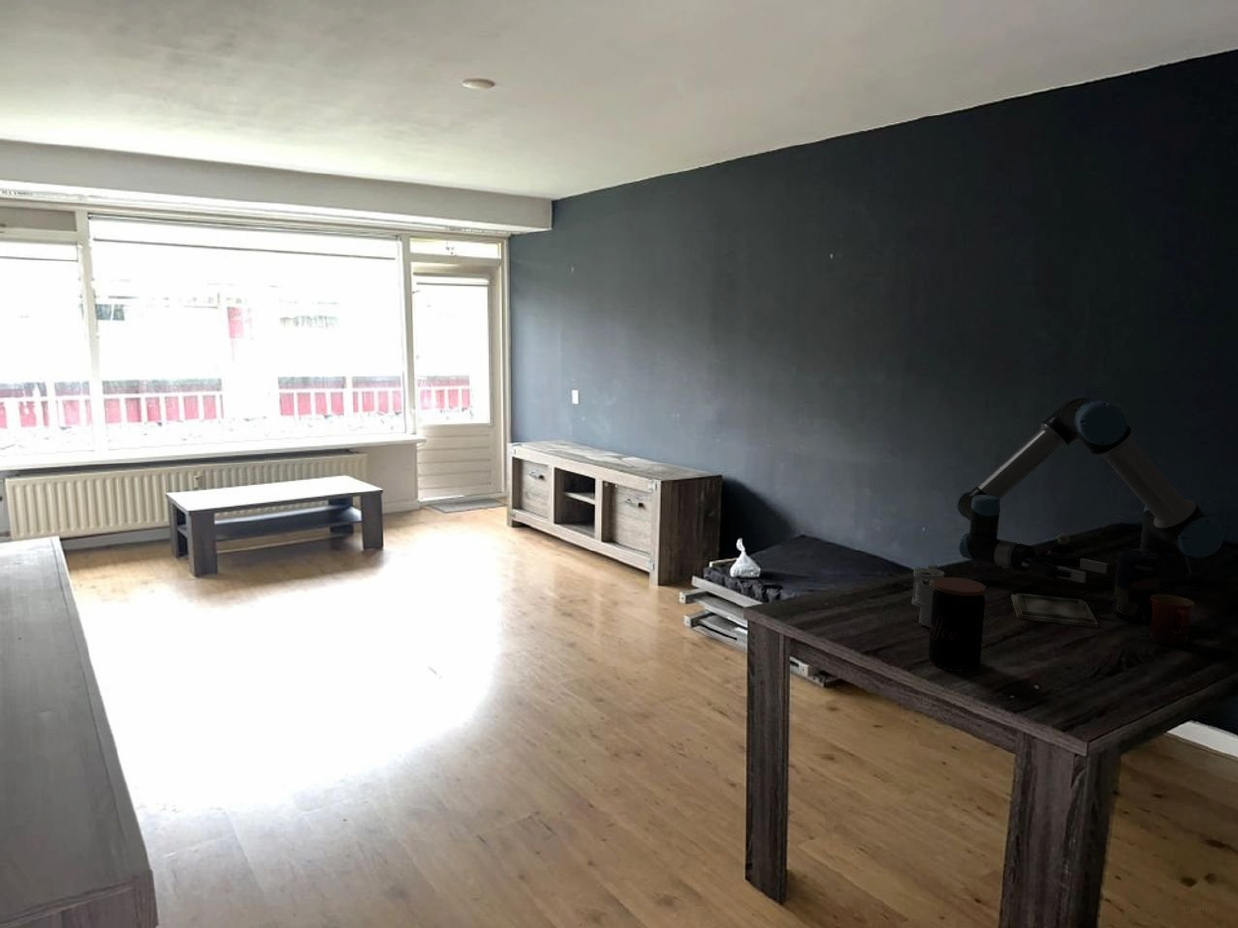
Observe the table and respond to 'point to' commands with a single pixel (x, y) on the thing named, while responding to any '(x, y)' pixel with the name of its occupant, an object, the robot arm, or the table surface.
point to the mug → (1170, 619)
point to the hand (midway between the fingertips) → (1096, 573)
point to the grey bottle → (925, 591)
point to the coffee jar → (956, 623)
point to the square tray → (1053, 610)
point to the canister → (1136, 584)
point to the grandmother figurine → (1062, 547)
